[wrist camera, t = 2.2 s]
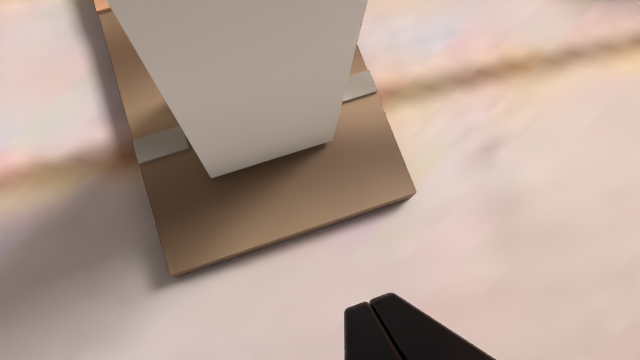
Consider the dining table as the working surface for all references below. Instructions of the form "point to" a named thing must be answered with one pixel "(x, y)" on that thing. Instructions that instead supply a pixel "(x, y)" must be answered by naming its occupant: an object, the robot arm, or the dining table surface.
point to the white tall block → (247, 71)
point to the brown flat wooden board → (253, 170)
